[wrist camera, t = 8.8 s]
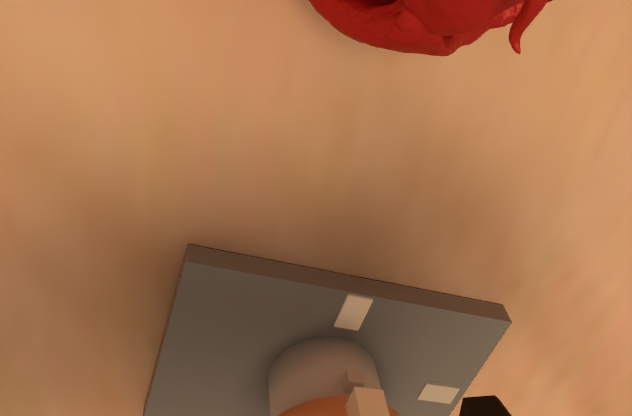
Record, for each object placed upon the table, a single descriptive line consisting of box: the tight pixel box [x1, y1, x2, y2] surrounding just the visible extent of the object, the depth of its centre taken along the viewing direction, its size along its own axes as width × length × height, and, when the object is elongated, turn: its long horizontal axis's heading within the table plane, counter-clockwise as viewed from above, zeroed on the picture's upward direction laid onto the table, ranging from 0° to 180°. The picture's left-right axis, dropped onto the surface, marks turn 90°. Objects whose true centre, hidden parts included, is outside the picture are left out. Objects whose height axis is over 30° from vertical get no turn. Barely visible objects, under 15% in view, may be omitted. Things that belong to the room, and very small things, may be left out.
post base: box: [143, 244, 512, 416], centre depth 23 cm, size 13×9×4 cm
